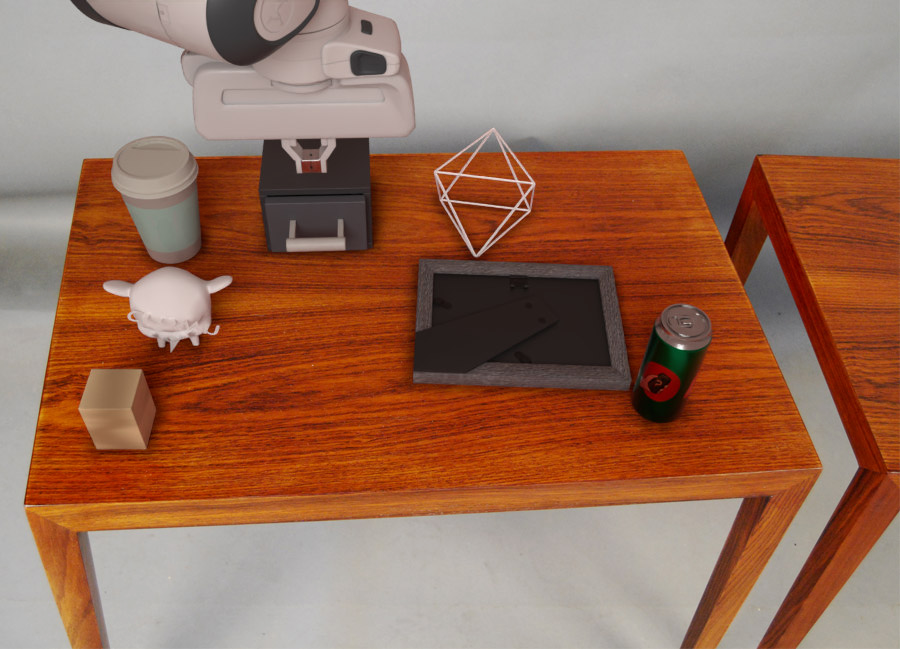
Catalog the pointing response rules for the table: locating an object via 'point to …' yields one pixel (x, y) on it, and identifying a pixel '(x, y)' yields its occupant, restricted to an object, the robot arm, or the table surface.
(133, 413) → the block
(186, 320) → the figurine
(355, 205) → the open drawer with handle
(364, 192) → the dark grey box
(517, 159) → the geometric polyhedron
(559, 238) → the table surface
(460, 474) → the table surface
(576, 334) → the picture frame
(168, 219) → the coffee cup
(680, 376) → the soda can
